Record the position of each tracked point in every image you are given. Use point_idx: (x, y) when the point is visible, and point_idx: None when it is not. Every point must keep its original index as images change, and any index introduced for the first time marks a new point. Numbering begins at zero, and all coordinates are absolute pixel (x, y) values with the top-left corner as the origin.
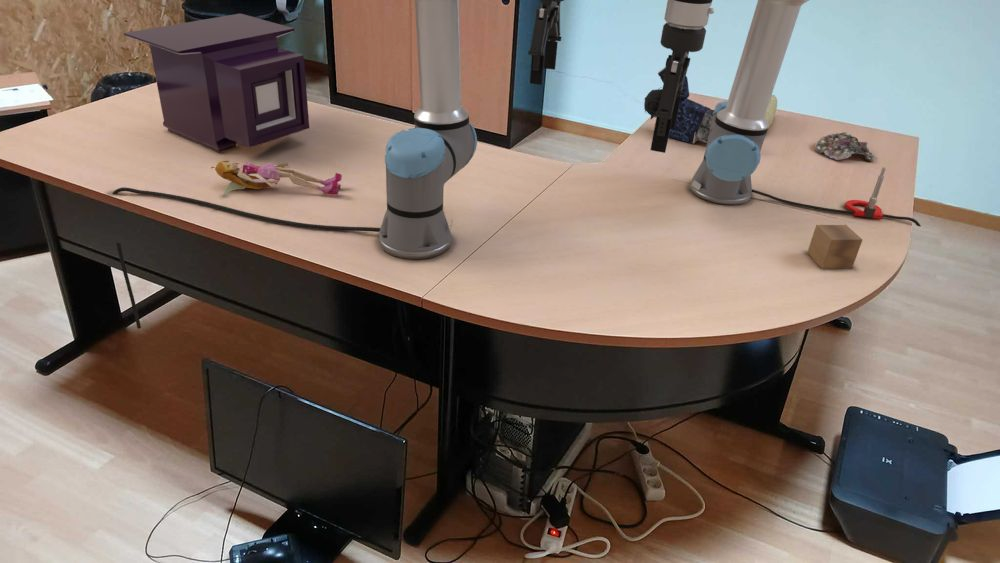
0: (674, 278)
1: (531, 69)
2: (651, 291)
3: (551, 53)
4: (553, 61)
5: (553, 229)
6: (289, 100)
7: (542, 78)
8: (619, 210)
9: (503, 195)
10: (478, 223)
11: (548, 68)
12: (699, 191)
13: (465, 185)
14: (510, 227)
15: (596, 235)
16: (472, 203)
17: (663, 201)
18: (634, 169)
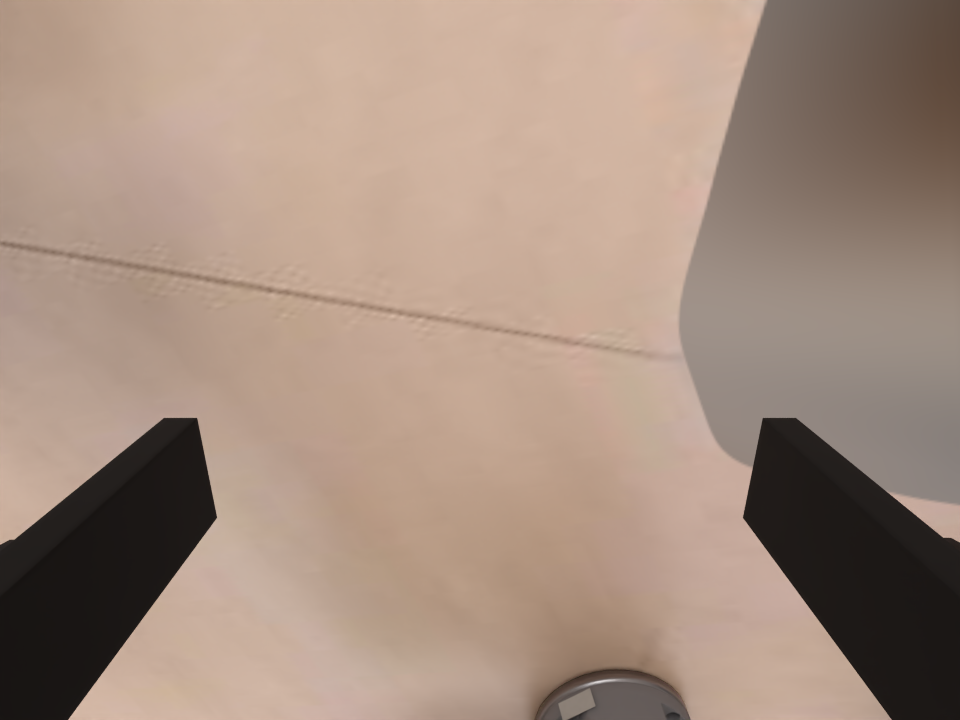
0: (112, 668)
1: (62, 508)
2: None
3: (853, 599)
4: (787, 558)
5: (171, 401)
6: None
7: (190, 553)
8: (386, 535)
9: (312, 192)
10: (62, 175)
11: (755, 466)
12: (559, 702)
13: (321, 13)
14: (104, 282)
15: None
16: (188, 100)
17: (496, 621)
18: (700, 536)
